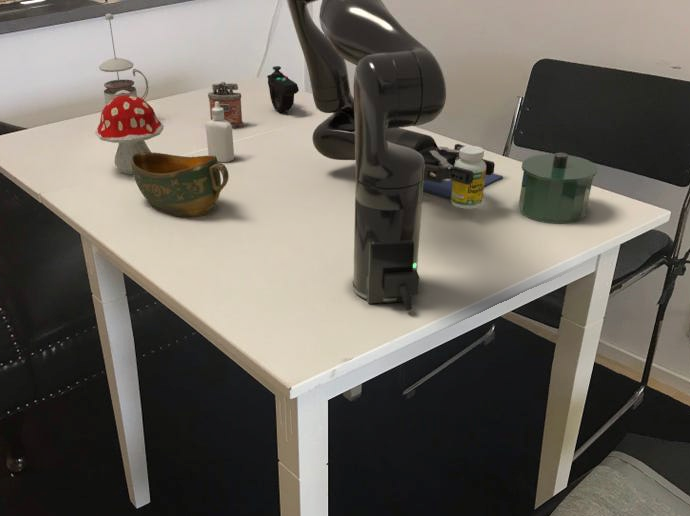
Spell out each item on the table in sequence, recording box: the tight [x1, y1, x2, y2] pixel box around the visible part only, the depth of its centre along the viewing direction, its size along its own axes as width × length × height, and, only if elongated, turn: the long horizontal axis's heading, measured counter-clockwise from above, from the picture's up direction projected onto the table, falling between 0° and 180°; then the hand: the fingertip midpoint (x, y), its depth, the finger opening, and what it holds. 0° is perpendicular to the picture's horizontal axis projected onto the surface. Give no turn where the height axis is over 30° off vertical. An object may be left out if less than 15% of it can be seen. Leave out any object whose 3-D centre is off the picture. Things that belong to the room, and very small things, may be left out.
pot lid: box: [521, 152, 599, 182], centre depth 130 cm, size 12×12×3 cm
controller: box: [266, 65, 300, 113], centre depth 187 cm, size 4×12×10 cm, turn 22°
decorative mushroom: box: [94, 95, 165, 175], centre depth 157 cm, size 14×14×15 cm
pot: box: [518, 171, 594, 224], centre depth 133 cm, size 11×11×8 cm
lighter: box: [207, 81, 244, 129], centre depth 180 cm, size 8×3×10 cm, turn 73°
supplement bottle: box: [450, 145, 486, 210], centre depth 131 cm, size 5×5×10 cm
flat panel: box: [423, 173, 504, 200], centre depth 148 cm, size 12×15×1 cm
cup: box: [131, 151, 230, 218], centre depth 140 cm, size 13×20×10 cm, turn 28°
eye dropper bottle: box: [205, 102, 235, 163], centre depth 160 cm, size 4×6×12 cm
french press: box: [98, 13, 149, 106], centre depth 180 cm, size 10×12×25 cm
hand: (482, 173), depth 129 cm, fingers closed on supplement bottle, 5 cm apart
